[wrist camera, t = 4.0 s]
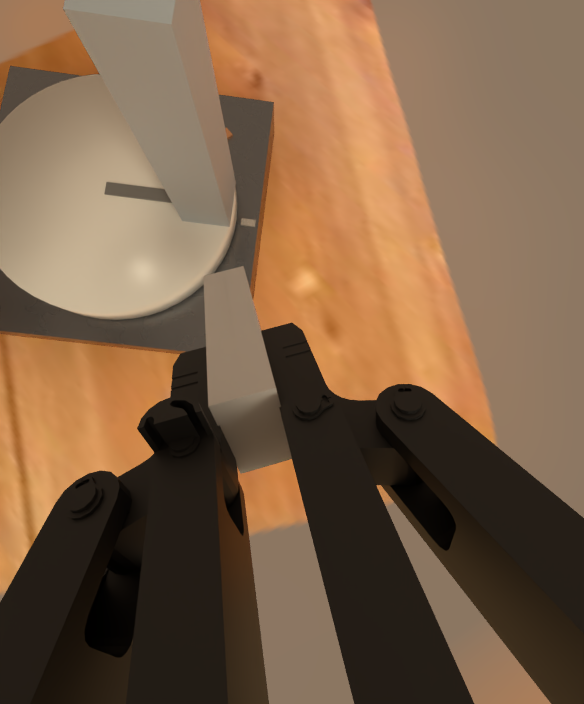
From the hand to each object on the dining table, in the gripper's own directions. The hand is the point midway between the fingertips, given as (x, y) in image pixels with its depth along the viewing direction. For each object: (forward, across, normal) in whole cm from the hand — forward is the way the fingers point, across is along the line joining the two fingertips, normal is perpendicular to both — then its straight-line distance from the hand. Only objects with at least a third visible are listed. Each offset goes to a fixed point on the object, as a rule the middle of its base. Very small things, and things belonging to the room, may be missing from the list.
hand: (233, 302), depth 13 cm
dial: (+15, -6, +1) cm, 16 cm away
